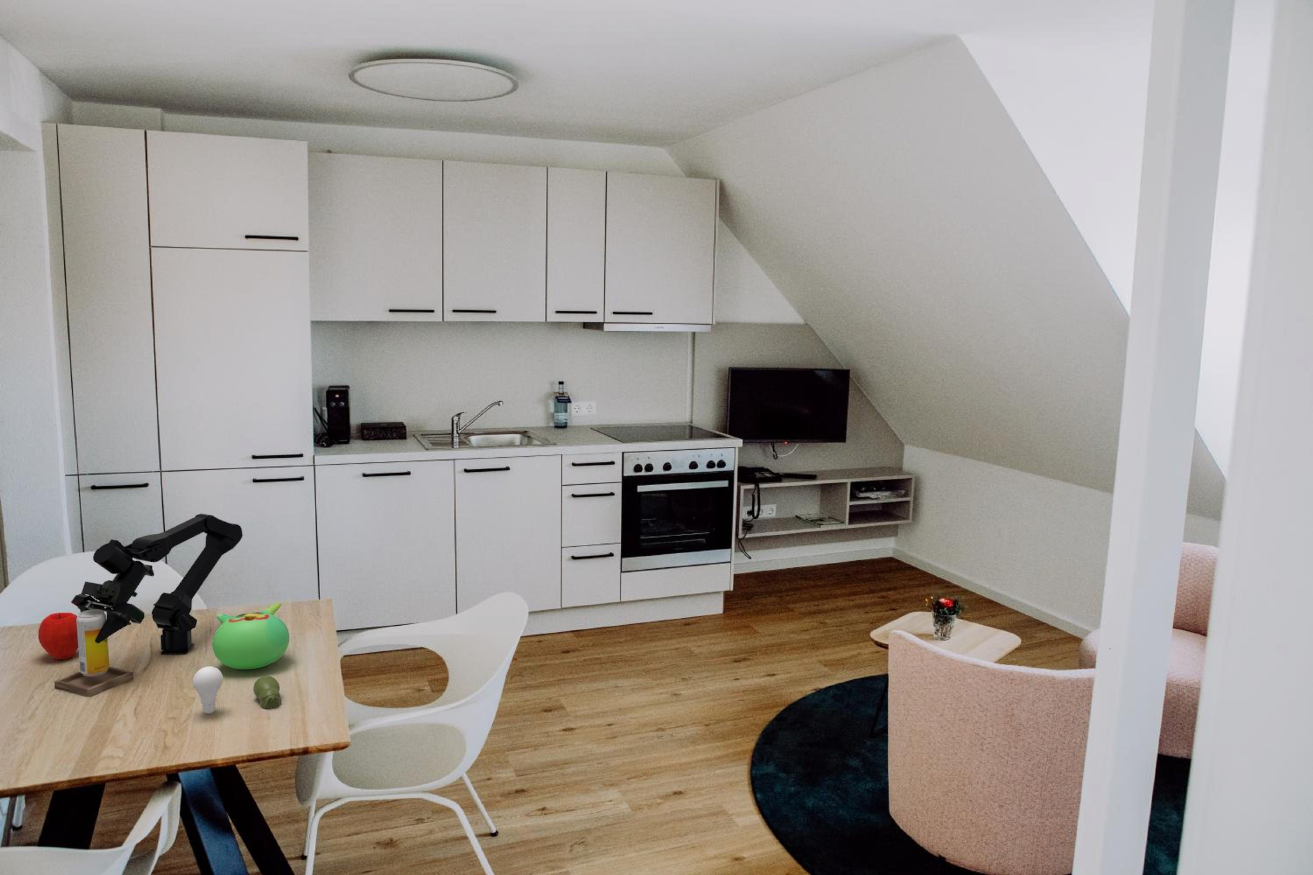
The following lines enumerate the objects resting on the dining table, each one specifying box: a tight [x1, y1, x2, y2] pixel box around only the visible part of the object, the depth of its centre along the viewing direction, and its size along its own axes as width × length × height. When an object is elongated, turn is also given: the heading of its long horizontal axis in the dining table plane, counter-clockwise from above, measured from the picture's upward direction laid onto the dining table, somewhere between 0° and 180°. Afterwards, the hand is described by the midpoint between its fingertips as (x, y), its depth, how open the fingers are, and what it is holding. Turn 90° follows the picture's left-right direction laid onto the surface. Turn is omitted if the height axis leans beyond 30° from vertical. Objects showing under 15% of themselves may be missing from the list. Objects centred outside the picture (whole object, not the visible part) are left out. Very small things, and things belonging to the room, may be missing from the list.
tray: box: [53, 666, 134, 698], centre depth 223 cm, size 12×12×2 cm
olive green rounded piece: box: [252, 675, 282, 709], centre depth 217 cm, size 6×5×10 cm
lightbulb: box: [192, 666, 224, 715], centre depth 209 cm, size 6×6×11 cm
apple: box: [37, 612, 79, 660], centre depth 237 cm, size 10×10×12 cm
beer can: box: [76, 609, 110, 676], centre depth 222 cm, size 6×6×15 cm
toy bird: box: [212, 602, 290, 670], centre depth 236 cm, size 18×17×15 cm
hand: (87, 640), depth 221 cm, fingers closed on beer can, 6 cm apart
